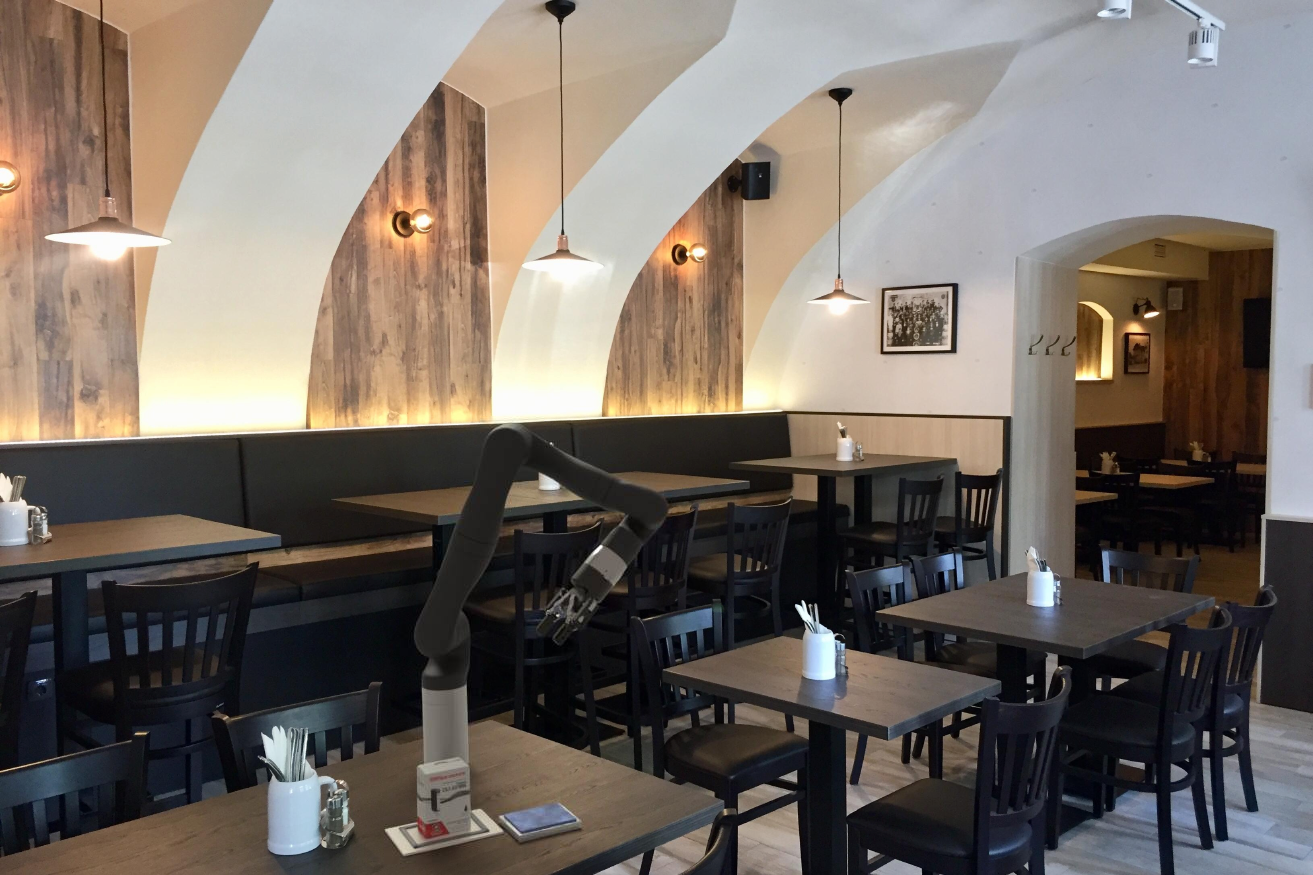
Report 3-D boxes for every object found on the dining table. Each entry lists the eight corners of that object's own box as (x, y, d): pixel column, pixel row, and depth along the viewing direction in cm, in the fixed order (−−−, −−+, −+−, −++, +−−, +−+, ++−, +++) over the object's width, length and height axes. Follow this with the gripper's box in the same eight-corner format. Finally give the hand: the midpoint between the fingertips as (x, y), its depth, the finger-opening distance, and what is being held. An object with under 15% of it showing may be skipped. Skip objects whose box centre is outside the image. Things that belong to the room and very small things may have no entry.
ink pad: (498, 822, 194) (498, 814, 194) (559, 809, 200) (559, 800, 200) (519, 842, 186) (519, 833, 186) (581, 827, 191) (581, 819, 191)
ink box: (426, 840, 186) (424, 773, 186) (417, 830, 191) (415, 765, 190) (472, 829, 191) (470, 763, 190) (462, 819, 195) (460, 756, 194)
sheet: (385, 831, 191) (385, 827, 191) (480, 810, 200) (480, 807, 200) (403, 856, 181) (403, 852, 181) (503, 833, 189) (503, 829, 189)
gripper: (571, 557, 216) (520, 619, 211) (602, 566, 204) (548, 633, 199) (596, 580, 219) (545, 642, 214) (627, 591, 207) (575, 657, 202)
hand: (547, 638), depth 207 cm, fingers open, 8 cm apart
